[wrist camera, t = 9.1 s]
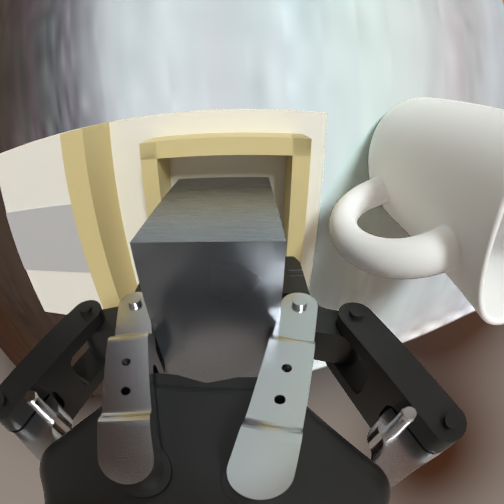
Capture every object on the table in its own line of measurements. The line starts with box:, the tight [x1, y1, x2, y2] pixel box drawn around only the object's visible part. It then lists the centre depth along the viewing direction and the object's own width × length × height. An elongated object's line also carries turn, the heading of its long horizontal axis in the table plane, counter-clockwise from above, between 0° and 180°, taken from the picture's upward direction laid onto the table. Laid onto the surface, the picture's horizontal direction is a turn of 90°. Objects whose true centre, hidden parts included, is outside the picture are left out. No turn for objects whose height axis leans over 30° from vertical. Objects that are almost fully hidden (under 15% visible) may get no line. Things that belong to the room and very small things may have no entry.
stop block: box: [130, 177, 286, 383], centre depth 11 cm, size 8×4×6 cm, turn 0°
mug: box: [329, 97, 504, 325], centre depth 10 cm, size 12×8×10 cm
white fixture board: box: [0, 109, 327, 315], centre depth 15 cm, size 22×14×4 cm, turn 90°
